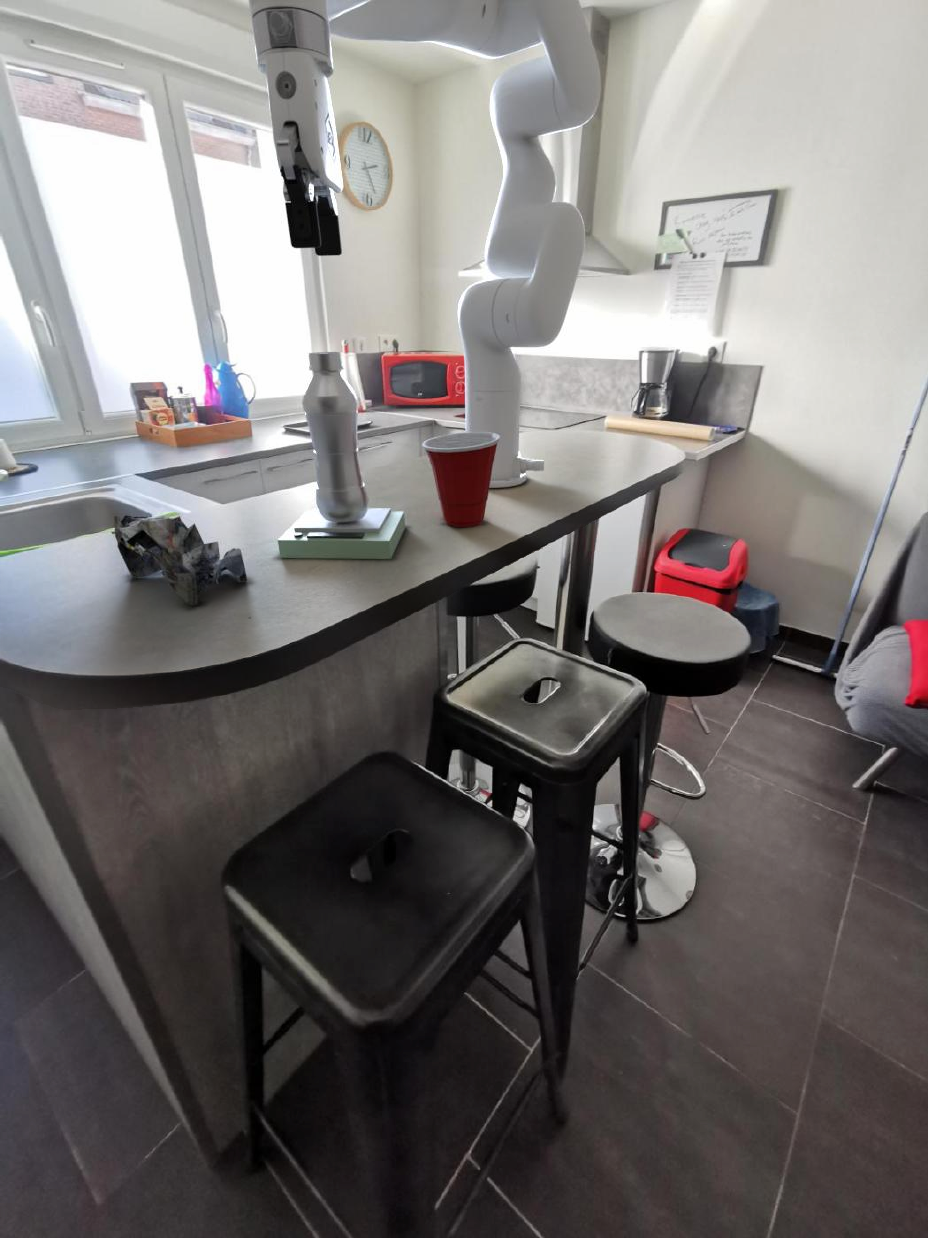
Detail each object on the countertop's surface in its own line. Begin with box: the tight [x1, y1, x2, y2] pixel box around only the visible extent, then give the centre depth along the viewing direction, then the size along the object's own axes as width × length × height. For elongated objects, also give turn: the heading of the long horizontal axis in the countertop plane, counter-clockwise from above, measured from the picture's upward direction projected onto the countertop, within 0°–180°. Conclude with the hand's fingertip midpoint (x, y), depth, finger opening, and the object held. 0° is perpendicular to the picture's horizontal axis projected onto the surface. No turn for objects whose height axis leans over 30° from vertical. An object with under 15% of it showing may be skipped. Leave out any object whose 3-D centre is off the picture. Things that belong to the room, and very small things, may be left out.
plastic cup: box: [421, 431, 500, 528], centre depth 80 cm, size 11×11×12 cm
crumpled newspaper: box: [110, 514, 248, 607], centre depth 63 cm, size 12×11×15 cm
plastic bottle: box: [301, 351, 370, 522], centre depth 70 cm, size 6×7×20 cm
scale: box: [277, 507, 406, 560], centre depth 75 cm, size 14×12×3 cm
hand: (318, 251), depth 65 cm, fingers open, 9 cm apart
